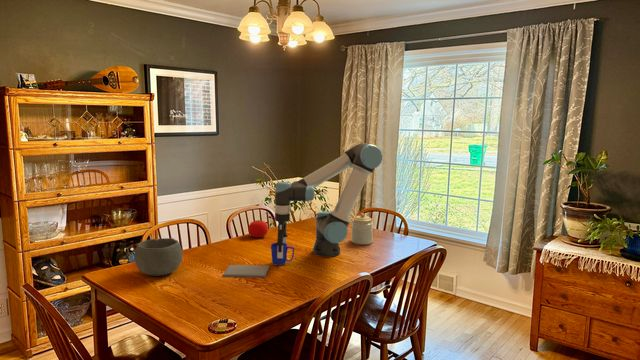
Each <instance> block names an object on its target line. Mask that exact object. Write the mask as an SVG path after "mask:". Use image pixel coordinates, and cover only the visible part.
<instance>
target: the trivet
mask: <svg viewBox="0 0 640 360" xmlns="http://www.w3.org/2000/svg"><path fill="white" fill-rule="evenodd" d="M269 269H270V265H260V264H259V265H254V264H250V265H249V264H229V265H228V266H227V268H226V269H225V271H224V272H223V273H222V276H221V277H223V278H266V277H267V274H268V271H269Z"/></svg>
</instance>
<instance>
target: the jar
mask: <svg viewBox="0 0 640 360" xmlns="http://www.w3.org/2000/svg"><path fill="white" fill-rule="evenodd" d="M351 224H352V226H351V238H350V239H351V243H353V244H356V245H361V246H362V245H370V244H372V243H373V240H374V237H373V234H374V233H373V232H374V227H373V225H374V222H373V218H371V217H370V216H367V215H366V214H365V213H364V212H361V213H360V215H357V216H355V217H353V218H352V221H351Z"/></svg>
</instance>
